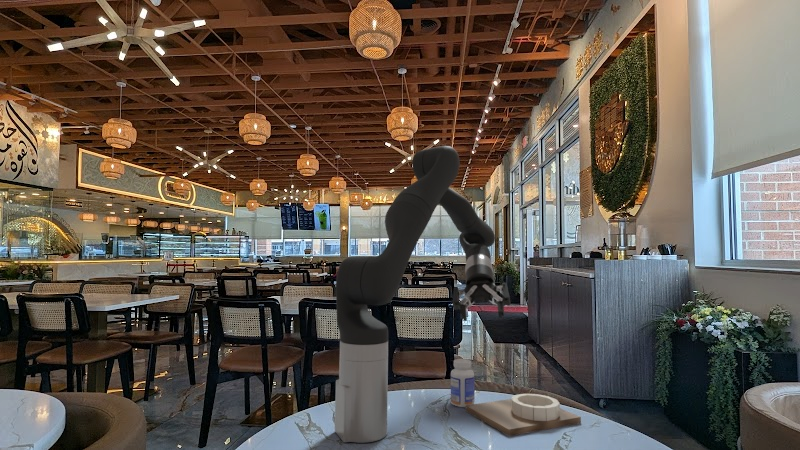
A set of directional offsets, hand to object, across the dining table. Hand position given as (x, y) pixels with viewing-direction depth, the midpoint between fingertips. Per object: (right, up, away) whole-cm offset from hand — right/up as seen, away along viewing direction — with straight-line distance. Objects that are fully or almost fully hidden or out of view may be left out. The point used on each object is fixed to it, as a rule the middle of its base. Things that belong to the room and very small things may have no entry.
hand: (482, 317), depth 109 cm
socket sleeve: (+8, -17, -15) cm, 24 cm away
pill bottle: (-6, -19, -6) cm, 21 cm away
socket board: (+5, -18, -14) cm, 24 cm away
